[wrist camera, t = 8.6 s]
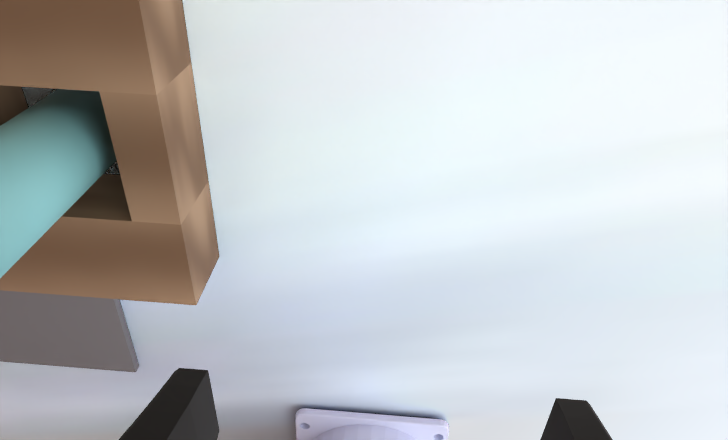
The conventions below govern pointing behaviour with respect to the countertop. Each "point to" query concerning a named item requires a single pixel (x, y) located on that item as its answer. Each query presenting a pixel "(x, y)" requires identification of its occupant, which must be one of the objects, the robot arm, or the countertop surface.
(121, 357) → the mat
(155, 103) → the hole block
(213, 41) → the countertop surface
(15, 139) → the peg
